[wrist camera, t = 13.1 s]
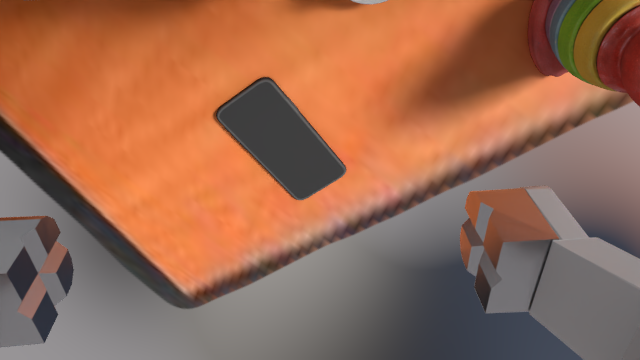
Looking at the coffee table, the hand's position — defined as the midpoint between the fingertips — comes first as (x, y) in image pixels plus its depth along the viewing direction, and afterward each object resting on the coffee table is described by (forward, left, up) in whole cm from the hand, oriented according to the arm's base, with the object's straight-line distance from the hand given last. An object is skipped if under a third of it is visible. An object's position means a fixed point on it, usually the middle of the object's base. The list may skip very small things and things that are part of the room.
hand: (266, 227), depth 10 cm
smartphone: (+1, +21, -40) cm, 45 cm away
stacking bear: (-28, +8, -39) cm, 49 cm away
